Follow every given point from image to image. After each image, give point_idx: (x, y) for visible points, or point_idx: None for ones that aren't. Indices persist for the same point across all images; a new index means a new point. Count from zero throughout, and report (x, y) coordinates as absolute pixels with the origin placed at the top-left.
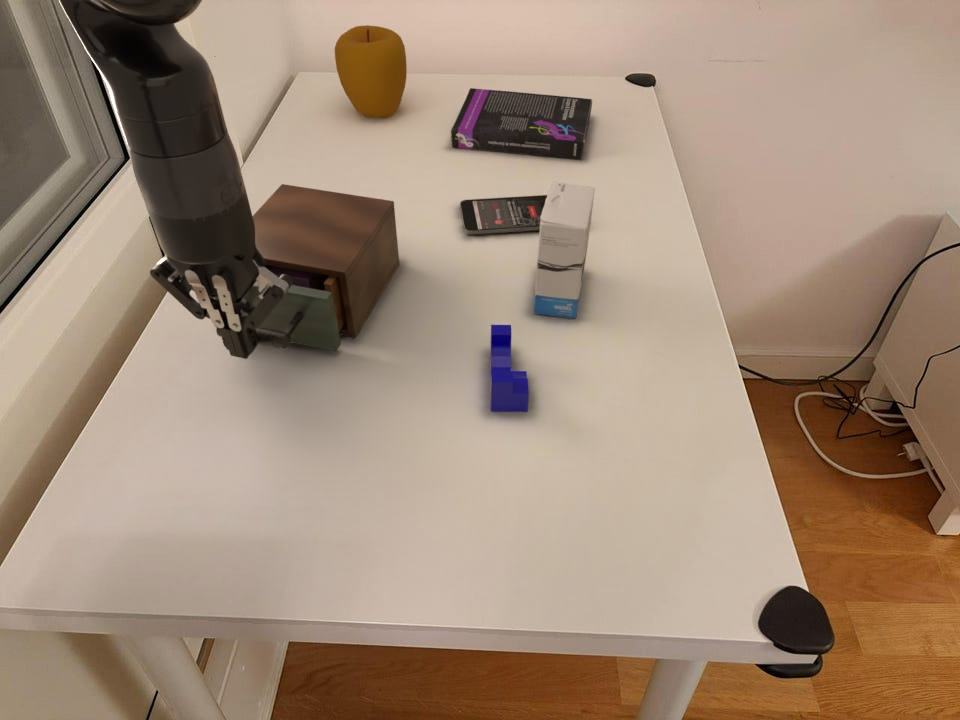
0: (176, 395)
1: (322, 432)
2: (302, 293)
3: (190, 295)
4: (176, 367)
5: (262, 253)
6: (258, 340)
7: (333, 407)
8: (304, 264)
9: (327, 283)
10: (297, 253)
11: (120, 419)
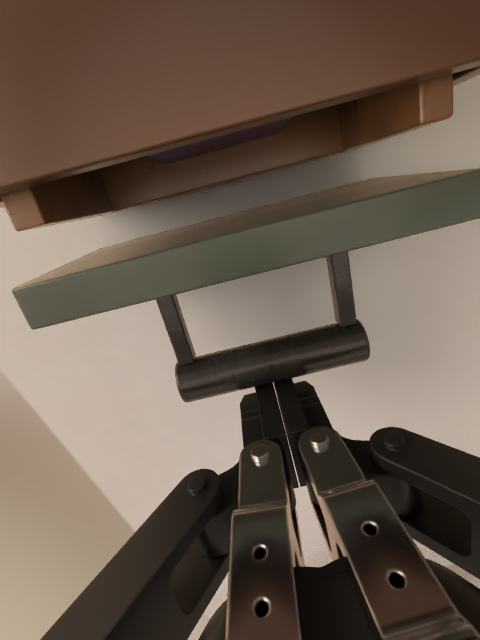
0: (163, 420)
1: (429, 366)
2: (384, 234)
3: (194, 609)
4: (105, 379)
5: (89, 123)
6: (313, 387)
7: (421, 317)
8: (332, 90)
9: (435, 118)
10: (243, 18)
11: (133, 484)
